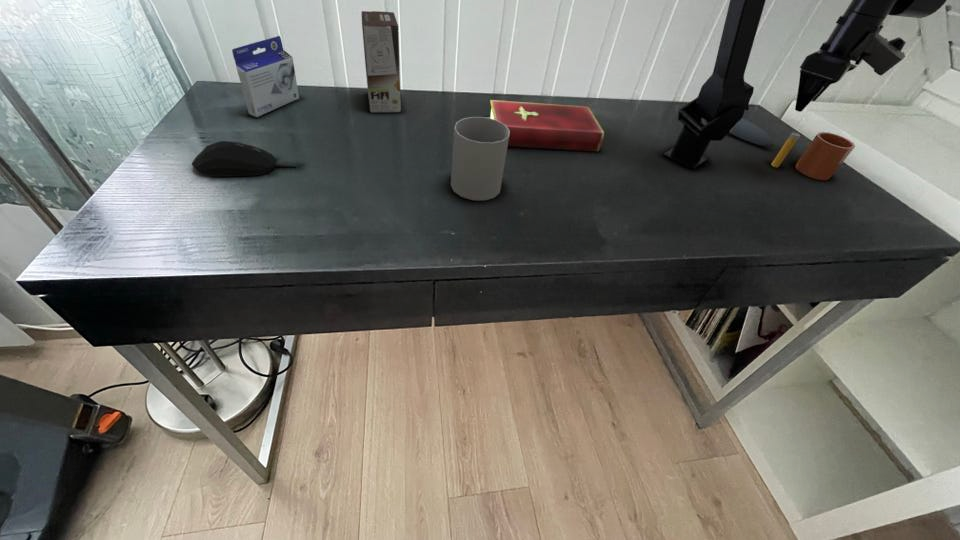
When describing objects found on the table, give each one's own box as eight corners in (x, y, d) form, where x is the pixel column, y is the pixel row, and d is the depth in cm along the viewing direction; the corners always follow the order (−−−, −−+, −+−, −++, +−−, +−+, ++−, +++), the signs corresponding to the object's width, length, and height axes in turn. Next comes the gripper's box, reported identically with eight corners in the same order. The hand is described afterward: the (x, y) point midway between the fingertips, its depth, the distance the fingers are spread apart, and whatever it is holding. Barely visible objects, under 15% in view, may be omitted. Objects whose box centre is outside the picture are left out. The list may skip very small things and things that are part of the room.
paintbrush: (775, 145, 94) (789, 124, 90) (769, 152, 91) (783, 130, 87) (691, 113, 102) (700, 92, 99) (683, 118, 99) (692, 97, 96)
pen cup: (825, 183, 83) (850, 152, 78) (790, 169, 86) (813, 137, 81) (833, 173, 87) (858, 142, 82) (800, 159, 90) (822, 129, 85)
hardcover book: (598, 152, 83) (605, 132, 80) (494, 146, 80) (496, 125, 77) (583, 124, 91) (588, 105, 88) (488, 118, 89) (490, 98, 86)
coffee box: (401, 112, 86) (399, 25, 75) (370, 113, 85) (362, 24, 73) (397, 94, 92) (394, 11, 81) (367, 94, 91) (360, 9, 80)
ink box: (257, 118, 78) (239, 52, 70) (248, 115, 79) (228, 49, 71) (301, 98, 86) (289, 37, 78) (292, 95, 87) (279, 34, 79)
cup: (506, 180, 72) (516, 125, 65) (492, 205, 66) (501, 148, 59) (461, 167, 73) (465, 112, 66) (443, 191, 68) (445, 133, 61)
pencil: (777, 168, 86) (798, 136, 81) (769, 165, 87) (790, 133, 82) (779, 166, 87) (801, 134, 82) (772, 162, 87) (793, 131, 83)
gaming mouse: (293, 177, 66) (288, 154, 63) (189, 177, 63) (178, 154, 61) (298, 156, 71) (294, 134, 68) (201, 156, 68) (192, 133, 65)
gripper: (915, 34, 60) (839, 135, 71) (930, 20, 71) (861, 110, 82) (832, 13, 66) (772, 110, 76) (857, 3, 76) (801, 90, 87)
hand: (805, 105), depth 80 cm, fingers open, 9 cm apart
